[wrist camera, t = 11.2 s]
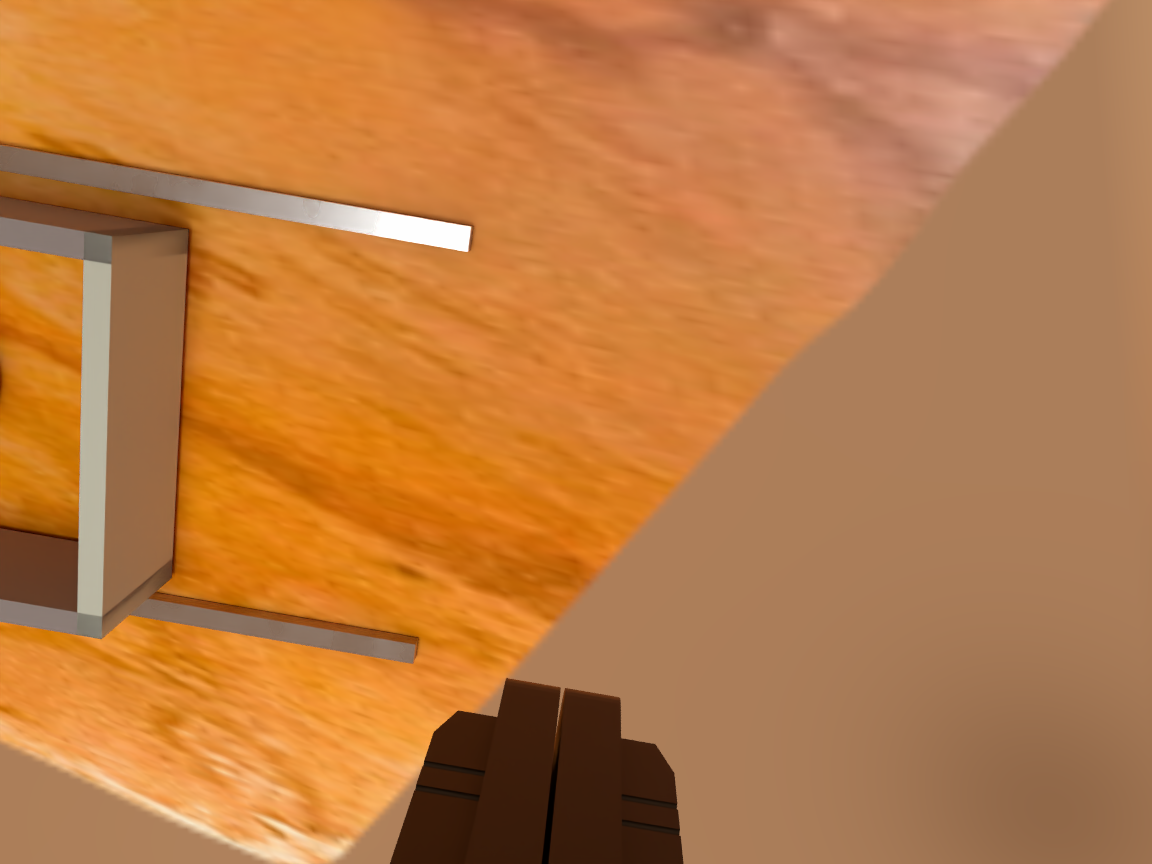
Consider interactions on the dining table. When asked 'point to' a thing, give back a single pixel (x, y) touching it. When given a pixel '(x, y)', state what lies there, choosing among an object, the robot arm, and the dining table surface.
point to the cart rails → (277, 208)
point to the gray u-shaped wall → (108, 423)
